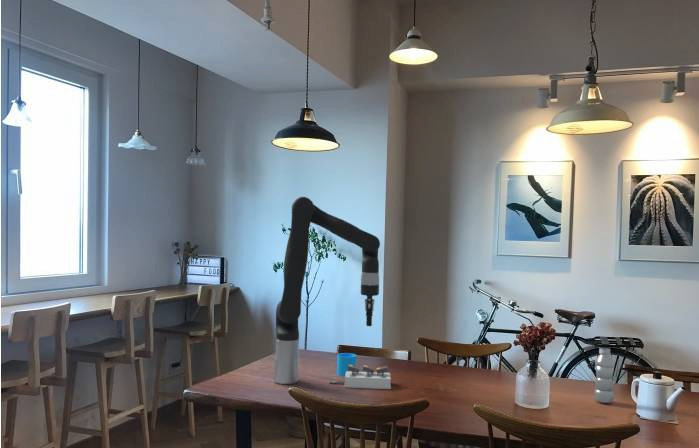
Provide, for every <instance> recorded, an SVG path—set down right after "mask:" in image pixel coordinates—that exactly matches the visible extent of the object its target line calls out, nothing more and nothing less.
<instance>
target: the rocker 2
mask: <svg viewBox="0 0 699 448" xmlns="http://www.w3.org/2000/svg"><path fill="white" fill-rule="evenodd" d="M361 372H369V373H372V374H374V372H375V367H372V366H368V365H366V364H363V366H362V371H361Z"/></svg>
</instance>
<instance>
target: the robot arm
mask: <svg viewBox="0 0 699 448" xmlns="http://www.w3.org/2000/svg"><path fill="white" fill-rule="evenodd" d="M311 223H312V224H314V225H316V226H319V227H321V228H323V229H324V230H327V231H328V232H330V233H332V234H333V235H335V236H337V237H338V238H341V239H342V240H345V241H347V242H348V243H351V244H353V245H354V244H355V246H357V247H360V248H361V252H362V253H361V254H362V260H361V274H360V275H361V276H360V295H362V296H365V297H366V298H365V299H364V305H365V306H364V311H365V317H366V321H365V324H366V325H365V326H367V327H372V326H373V322H372V321H373V313H374V305H375V298H374V299H373V297H375V296H379V294H380V275H379V274H380V271H379V270H380V267H379V266H380V262H379V261H380V260H379V248H380V247H381V246H380V245H381V241H380V239H379V238H378V237H377V236H376V235H374V234H371V233H369V232H368V231H365V230H362V229H361V228H359V227H358V226H356V225H354V224H352V223H350V222H349V221H346V220H344V219H341V218H339V217H337V216H334V215H332V214H329V213H328V212H326V211H324V210H322V209H321V208H319V207H318V206H316V205H315V204H314V203H313V201H312V199H310V198H309V197H306V196H299V197H297V198H296V199H294V200H293V202H292V205H291V222H290V231H289V235H288V239H287V243H286V249H285V253H284V261H283V292H282V297H281V300H280V301H279V302H278V304H277V306H276V310H275V335H276V336H275V337H276V338H275V340H276V343H275V358H274V367H273V368H274V370H273V371H274V372H273V373H274V374H273V376H274V377H273V383H274V384H275V383H276V384H281V385H290V384H296V383H298V382H299V354H300V353H299V350H300V348H299V347H300V346H299V345H300V331H299V318H300V316H301V312H302V310H301V309H302V291H303V286H304V285H303V284H304V282H305V275H306V271H307V265H308V258H309V232H310V226H311Z"/></svg>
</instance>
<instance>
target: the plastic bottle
mask: <svg viewBox="0 0 699 448" xmlns="http://www.w3.org/2000/svg"><path fill="white" fill-rule="evenodd" d="M598 349H599V350H598V353H599V355H598V356H597V357H596V359H595V361H594V365H595V377H596V378H595V387H594V393H593V396H594V397H593V398H594V400H596V402H599V403H601V404H611V403H613V402H614V399H615V394H614V386H613V375H614V371H615V361H614V359H613V358H612V357H611V348H608V347H599V348H598Z"/></svg>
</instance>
